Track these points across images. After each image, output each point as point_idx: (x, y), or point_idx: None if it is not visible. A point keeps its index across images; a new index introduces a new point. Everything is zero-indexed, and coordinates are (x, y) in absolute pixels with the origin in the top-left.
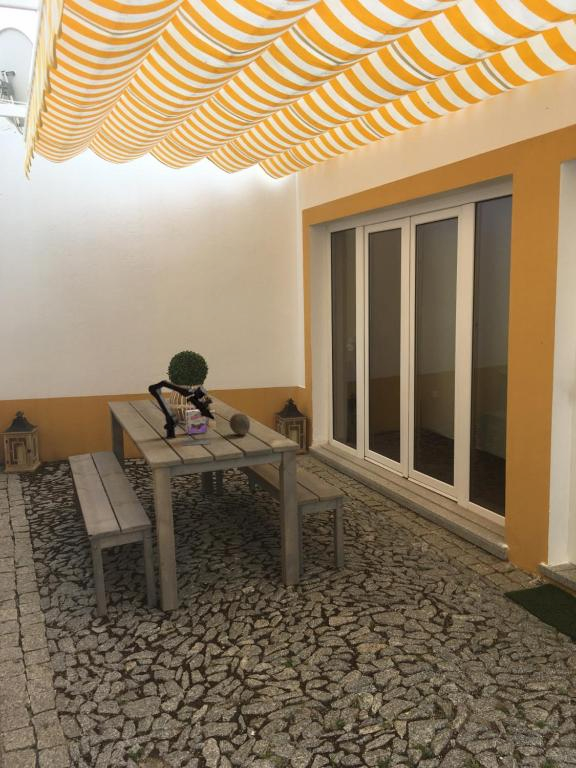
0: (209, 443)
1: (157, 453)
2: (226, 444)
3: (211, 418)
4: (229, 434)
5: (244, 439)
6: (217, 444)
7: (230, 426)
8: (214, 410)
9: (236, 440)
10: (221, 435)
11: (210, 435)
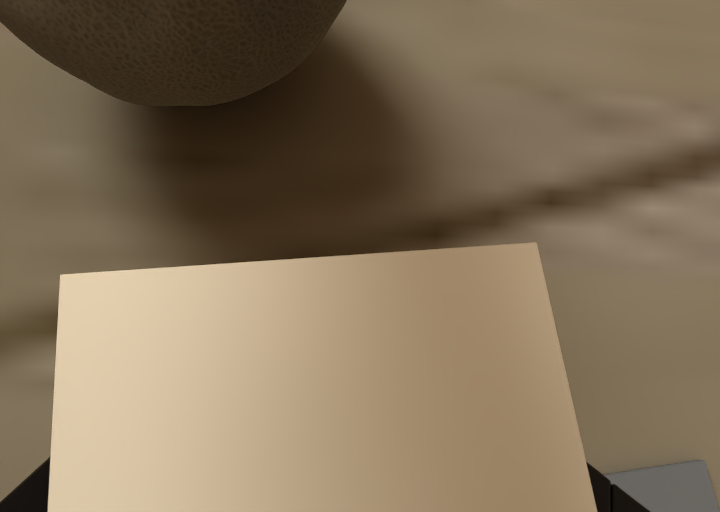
0: (706, 477)
1: None
2: (704, 246)
3: None
4: (125, 184)
5: (466, 36)
6: (710, 359)
7: (211, 87)
8: (70, 303)
9: (508, 122)
10: None
11: None
